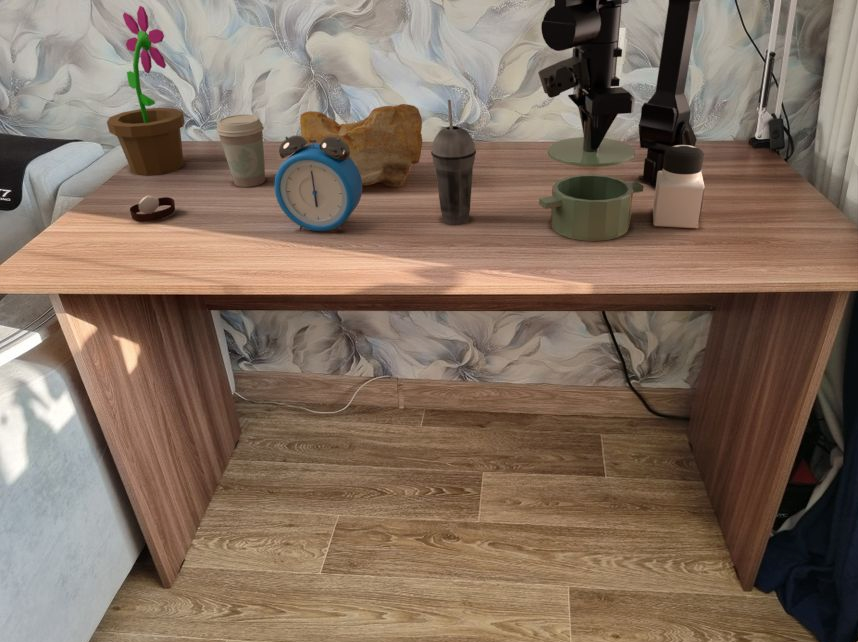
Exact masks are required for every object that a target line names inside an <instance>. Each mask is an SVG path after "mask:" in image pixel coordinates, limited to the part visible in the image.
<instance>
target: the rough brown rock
mask: <svg viewBox="0 0 858 642" xmlns="http://www.w3.org/2000/svg"><path fill="white" fill-rule="evenodd" d="M299 117H300V118H299V122H300V132H301V134H300V135H301V136H302V137H304V138H305V139H306V140H307V142H308V143H307V144H306V145H309V144H314V143H320V142H321V141H322V140H323V139H324V138H326V137H329V136H335V137H338V138H340V139H342V140H343V141H345V142H346V144H347V145H348V147H349V150H350V155H349V157H350V158H351V160H352V161H353V162H354V163H355V165H356V167H357V168H358V171H359V173H360V176H361V180H362V186H370V185H373V184H376V183H381V184H384V185H386V186H388V187H392V188H401V187H402V186H404V185H405V184H406V181H407V178H408V175H409V173H410V169H411V168H410V167H412V166H414V165H416V164H418V163H420V161H421V155H422V149H423V135H422V128H423V117H422V115H421V113H420V110H419V108H418V107H416V106H415V105H412V104H407V103H402V104H398V105H384V106H378V107H375V108H373V109H372V110H371V111H370V113H369V115H368V116H367V117H364V119H361V120H359V121H357V122H352V123H341V124H340V123H338V122H337V121H336V120H334V119H332V118H330V117H328V116H327V115H325V113H323V112H321V111H313V110H311V111H310V110H309V111H305V112H303V113H301V114H300V116H299ZM309 140H316V142H309ZM306 145H304V146H306Z"/></svg>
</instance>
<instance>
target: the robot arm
mask: <svg viewBox="0 0 858 642" xmlns="http://www.w3.org/2000/svg"><path fill="white" fill-rule="evenodd" d="M629 1H630V0H554V3H553V6H551V7H550V8H549V9H548V10H546V12H545V14H544V17H543V18H542V21H541V35H542V38H543V41H544V42H545V44H546V45H547V47H549V48H550V49H551V50H553V51H556V52H562V51H566V50H570V49H572V55H571V57H568V58H566V59H563V60H560V61H558V62H556V63H553V64H551V65H549V66H546V67H544V68H542V69H541V70H539V71H538V77H539V80H540V83H541V86H542V89H543V92H544V94H546V95H547V97H548V98H555V97H558V96H560V95H561V93H564V92H566V91H568V90H571V89H572V94H568V95H567V97H568V99H569V100H571V101H572V102H573V103H574V105H576V107H577V109H578V113H579V117H580V123H581V128H582V134H583V135H584V123H585V120H587V119H588V127H589V140H590V148H591V149H592V150H594V149H598V148H599V146H600V144H601V142H602V140H603V139H604V138H606V135H607V133H608V131H609V129H610V128H611V126H612V125H613V123H614V121H615V119H616V118H617V117H618V115H624V114H625V115H627V114H632V113H634V112H635V104H636V103H635V102H636V98H635V97H634V96H633V95H632V93H630V92H629V91H628V90H627V89H625V88H624V87H622V86H620V81H621V79H620V78H619V77H617V64H618V58H622V57H623V48H621V47H619V39H620V30H621V29H620V28H621V16H622V4H623V5H624V4H628V3H629ZM700 2H701V0H668V4H667V12H666V19H665V24H664V32H663V37H662V38H663V39H662V45H661V52H660V59H659V66H658V72H657V77H656V78H657V79H656V84H655V85H656V86H655V91H654V93H653V95H652V96H651V97H650V99H649V100H648V101H647V102H644V103H643V104H642V106H641V111H640V119H639V122H638V136H639V146H640V147H639V148H641V149H647V152H646V157H645V158H644V163H643V171H642V172H643V173H642V175H639V178H638V179H639V180H640V181H642V182H644V183H646V184H648V185H649V186H651V187H653V188H655V189H656V181H657V173H658V171H662V170H663V162H664V154H665V151H666V150H667V149H668V148H669V147H672V146H676V145H690V146H694V147H696V143H697V140H698V139H697V136H696V134H695V132H694V130H693V128H692V125H691V123H690V121H691V111H692V110H691V107H690V105H689V102H688V100H687V97H686V94H685V91H686V85H687V80H688V79H687V78H688V74H689V73H688V72H689V66H690V60H691V55H692V48H693V42H694V36H695V30H696V23H697V19H698V12H699V7H700Z"/></svg>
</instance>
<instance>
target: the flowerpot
mask: <svg viewBox="0 0 858 642" xmlns="http://www.w3.org/2000/svg"><path fill="white" fill-rule="evenodd" d="M122 17H123V21H124V23H125V26H126V27H127V28H128V29H129V31H130V32H131V33H132V34H134V35H137V37H131V38H128V39H127V40H126V43H125V47H126V49H127V50H128V51H130V52H132V53H133V52H134V55H133V61H132V67H133V68H132V69H133V71H132V70H130V71H129V70H128V71H126V76H127V82H128V85H129V87H130V88H132V90H134V89H135V91H136V92H135V93H136V95H137V100H138V103H139V109H134V110H128V111H122V112H119V113H118V114H114V115H112V116H110V117H109V118H108V119H107V120H106V124H107V128H108V131H109V134H111V135H113V136H115V137H117V139H118V142H119V145H120V147H121V149H122V151H123V154H124V156H125V159H126V161H127V163H128V166H129V168H130V170H131V172H132V173H135V174H136V175H143V176H155V175H156V176H157V175H164V174H168V173H173V172H175V171H177V170H179V169H182V168H183V165H184V154H183V153H184V152H183V144H182V132H181V129H182V128H184V125H185V122H186V121H185V117H184V113H183V111H182V110H179V109H177V108H173V107H172V108H171V107H151V106H152V105H153V106H154V105H155V104H156V102H155V100H154V99H152V98H151V97H149V96H147V95H146V94H145V93H143V92H142V88H141V82H140V81H141V80H140V79H141V78H140V70H139V68H140V67H139V62H140V64H141V66H142V68H143V70H144V73H146V74H150V72H151V70H152V67H153V66H152V60H153V62H154V63H155V64H156V65H157V66H158V67H160V68H162V69H166V66H167V64H166V61H165V58H164V55H163V54H162V53H161V52H160V50H159V49H158V47H155V46H153V45H156V44H159V43H162V42H163V40H164V38H165V34H164V32H163V30H161V29H158V28H154V29H152V30H149V29H148V28H149V16H148V14H147V12H146V9H145V7H144V6H142V5H139V6H138V9H137V11H136V19H137V21H136V20H135V18H134V17H133V16H132V15H131V14H129V13H127V12H123V14H122ZM148 30H149V31H148ZM147 31H148V33H147ZM152 44H153V45H152ZM141 49H142V50H141ZM146 107H150V108H146Z"/></svg>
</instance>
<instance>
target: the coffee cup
mask: <svg viewBox="0 0 858 642" xmlns="http://www.w3.org/2000/svg"><path fill="white" fill-rule="evenodd" d="M264 129H265V128H264V126H263V123H262V121H261V120H260V117H259V116H258V115H254V114H248V113H247V114H244V113H243V114H233V115H228V116H224V117H221V118H219V119H218V120H217V127H216V134H217V135H218V136H219V140H220V143H221V145H222V149H223V152H224V155H225V159H226V161H227V165H228V167H229V171H230V174H231V177H232V180H233V183H234V185H235V186H236V187H240V188H253V187H256V186H261V185H262V184H264V183H265V182H266V172H265V153H264V136H263V135H264V134H263V130H264Z"/></svg>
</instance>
